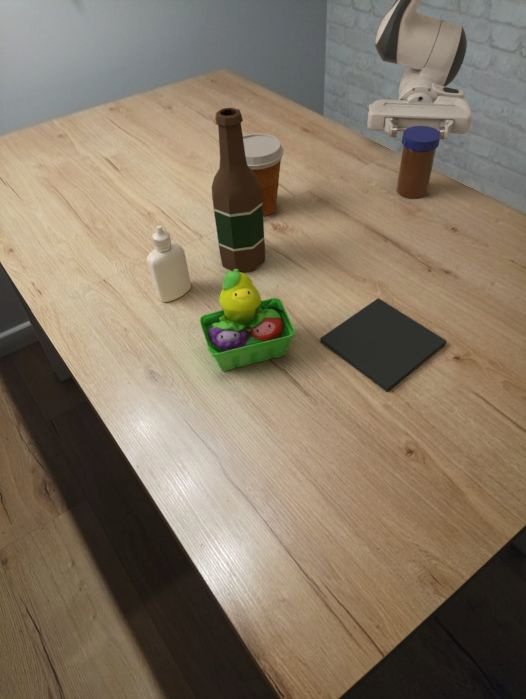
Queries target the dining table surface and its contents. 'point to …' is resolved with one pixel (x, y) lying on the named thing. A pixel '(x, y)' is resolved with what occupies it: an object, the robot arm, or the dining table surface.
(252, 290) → the fruit basket
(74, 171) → the dining table surface
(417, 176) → the jar
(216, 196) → the beer bottle
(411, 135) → the lid
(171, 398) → the dining table surface
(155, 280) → the eye dropper bottle
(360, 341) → the coaster
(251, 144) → the disposable coffee cup
